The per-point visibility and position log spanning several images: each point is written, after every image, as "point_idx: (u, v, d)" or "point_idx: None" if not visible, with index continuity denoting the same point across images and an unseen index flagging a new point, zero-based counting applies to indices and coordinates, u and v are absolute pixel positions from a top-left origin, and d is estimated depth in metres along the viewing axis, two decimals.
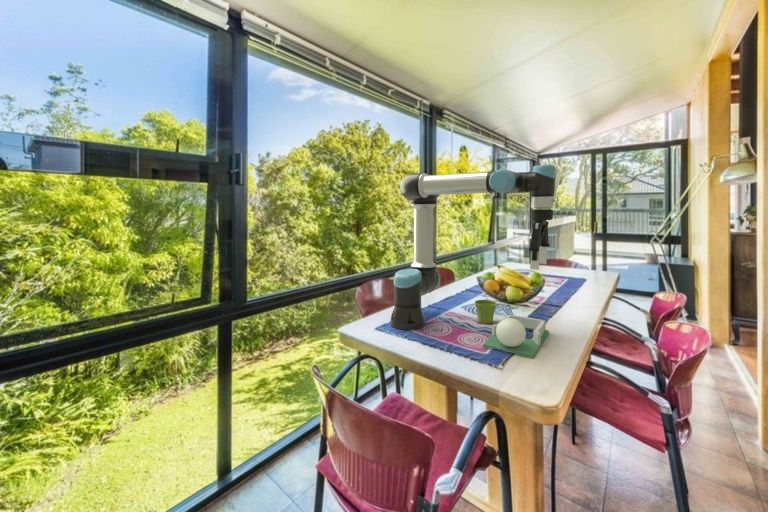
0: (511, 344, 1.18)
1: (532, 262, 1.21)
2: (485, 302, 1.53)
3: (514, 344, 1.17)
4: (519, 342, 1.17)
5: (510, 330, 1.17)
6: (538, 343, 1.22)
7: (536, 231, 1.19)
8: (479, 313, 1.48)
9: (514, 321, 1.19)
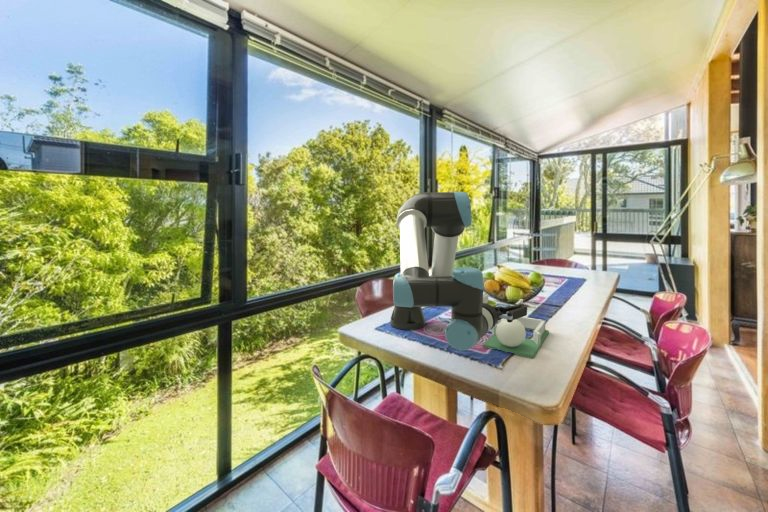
0: (511, 344, 1.18)
1: None
2: None
3: (514, 344, 1.17)
4: (519, 342, 1.17)
5: (510, 330, 1.17)
6: (538, 343, 1.22)
7: None
8: None
9: (514, 321, 1.19)
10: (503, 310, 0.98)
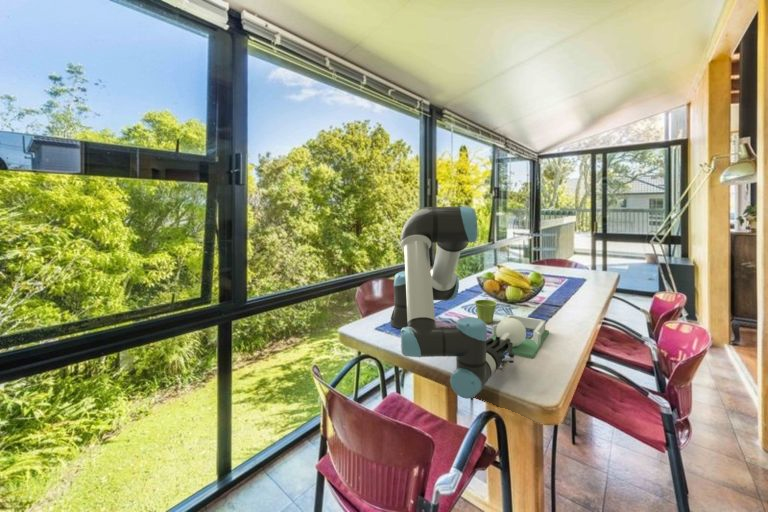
0: None
1: None
2: (485, 302, 1.53)
3: (514, 343, 1.17)
4: (519, 342, 1.17)
5: (511, 330, 1.17)
6: (538, 343, 1.22)
7: None
8: (479, 313, 1.48)
9: (514, 321, 1.19)
10: (501, 350, 1.05)
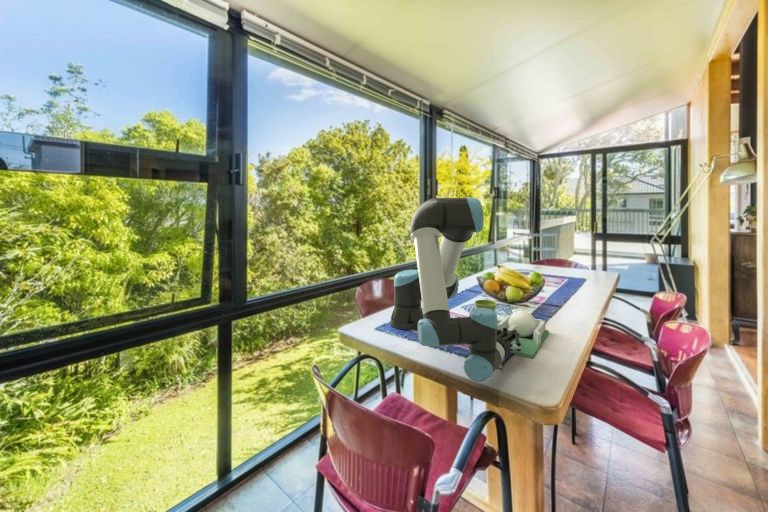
0: None
1: None
2: (485, 302, 1.53)
3: (530, 314, 1.32)
4: (533, 317, 1.31)
5: None
6: (538, 343, 1.22)
7: None
8: None
9: None
10: (508, 339, 1.12)
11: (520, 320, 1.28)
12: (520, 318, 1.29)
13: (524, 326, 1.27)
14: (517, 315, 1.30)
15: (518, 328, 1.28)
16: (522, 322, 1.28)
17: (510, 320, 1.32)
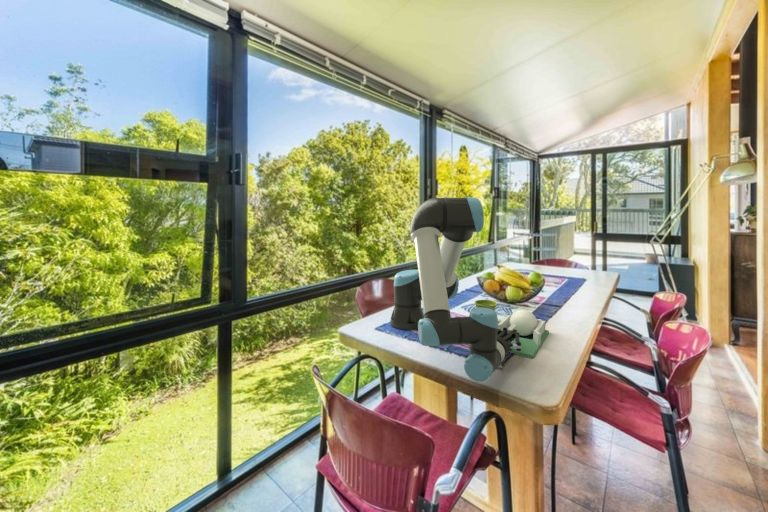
0: None
1: None
2: (485, 302, 1.53)
3: None
4: None
5: None
6: (538, 343, 1.22)
7: None
8: None
9: None
10: (508, 339, 1.12)
11: (523, 315, 1.30)
12: (523, 313, 1.31)
13: (526, 321, 1.29)
14: (520, 311, 1.32)
15: (520, 323, 1.29)
16: (524, 316, 1.30)
17: (512, 316, 1.33)
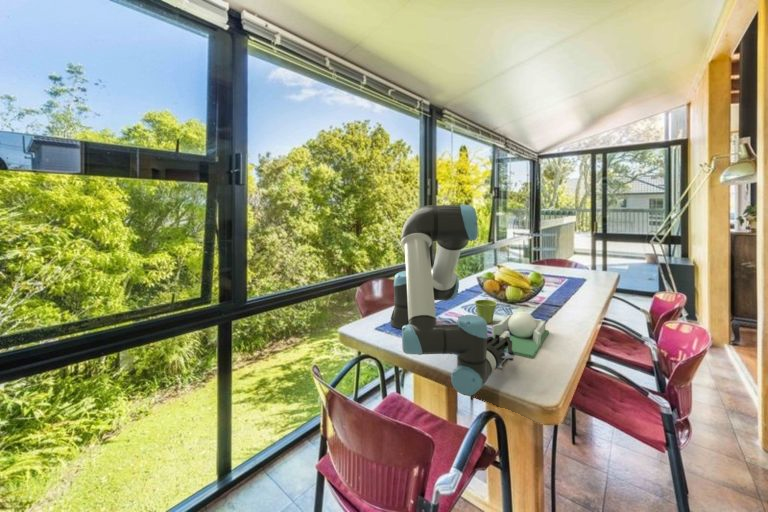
0: None
1: None
2: (485, 302, 1.53)
3: None
4: (533, 318, 1.30)
5: None
6: (538, 343, 1.22)
7: None
8: (479, 313, 1.48)
9: None
10: (500, 347, 1.05)
11: (520, 323, 1.27)
12: (520, 321, 1.27)
13: (524, 329, 1.26)
14: (518, 318, 1.28)
15: (518, 332, 1.28)
16: (522, 325, 1.27)
17: (510, 322, 1.30)
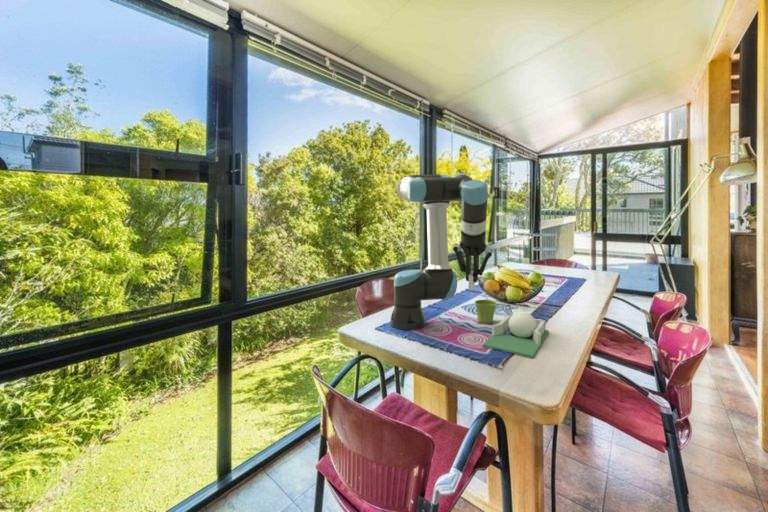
0: (528, 313, 1.31)
1: None
2: (485, 302, 1.53)
3: None
4: None
5: None
6: (538, 343, 1.22)
7: None
8: (479, 313, 1.48)
9: None
10: (478, 255, 1.12)
11: (521, 323, 1.27)
12: (521, 321, 1.27)
13: (525, 329, 1.26)
14: (518, 318, 1.28)
15: (518, 331, 1.28)
16: (523, 325, 1.27)
17: (510, 322, 1.30)
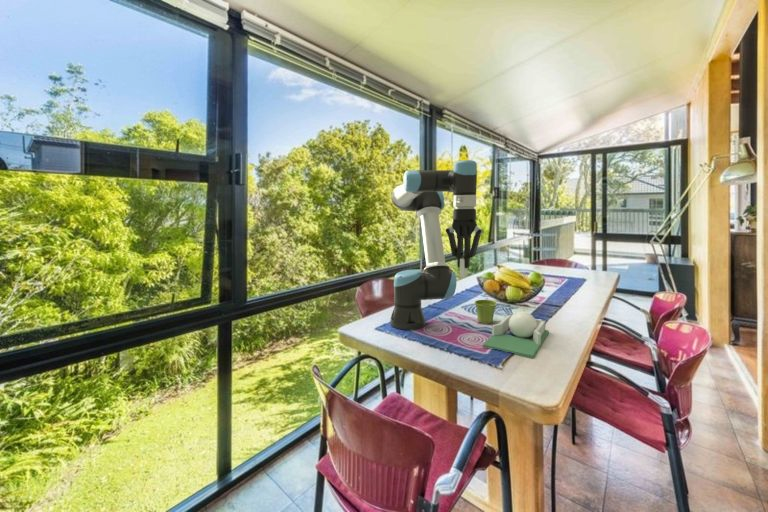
0: None
1: None
2: (485, 302, 1.53)
3: None
4: None
5: None
6: (538, 343, 1.22)
7: None
8: (479, 313, 1.48)
9: None
10: (470, 237, 1.16)
11: (521, 322, 1.27)
12: (521, 320, 1.27)
13: (525, 328, 1.27)
14: (518, 317, 1.29)
15: (519, 331, 1.28)
16: (523, 324, 1.27)
17: (511, 321, 1.31)
